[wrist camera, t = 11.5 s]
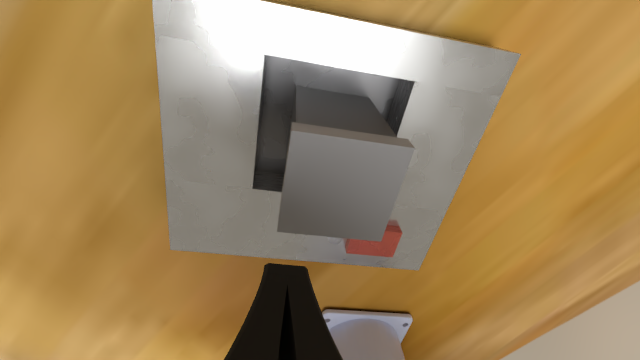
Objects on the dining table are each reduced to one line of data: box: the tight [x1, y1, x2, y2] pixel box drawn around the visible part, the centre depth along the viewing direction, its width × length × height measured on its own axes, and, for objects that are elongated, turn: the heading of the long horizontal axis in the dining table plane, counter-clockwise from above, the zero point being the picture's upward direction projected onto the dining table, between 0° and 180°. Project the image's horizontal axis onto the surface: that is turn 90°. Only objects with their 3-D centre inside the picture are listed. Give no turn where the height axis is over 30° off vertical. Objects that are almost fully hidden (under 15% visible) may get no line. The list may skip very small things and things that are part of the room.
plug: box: [277, 86, 415, 242], centre depth 15 cm, size 4×4×7 cm
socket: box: [152, 0, 521, 270], centre depth 18 cm, size 14×16×3 cm
